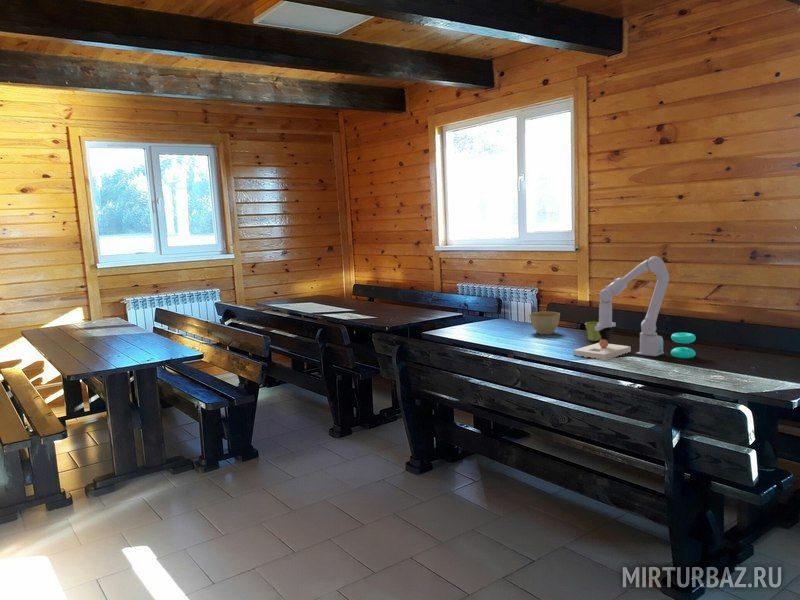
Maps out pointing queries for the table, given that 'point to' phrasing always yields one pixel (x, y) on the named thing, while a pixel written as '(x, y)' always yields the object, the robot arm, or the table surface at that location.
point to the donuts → (682, 351)
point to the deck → (602, 351)
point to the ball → (603, 343)
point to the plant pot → (592, 331)
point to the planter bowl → (545, 322)
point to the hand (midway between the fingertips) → (605, 343)
